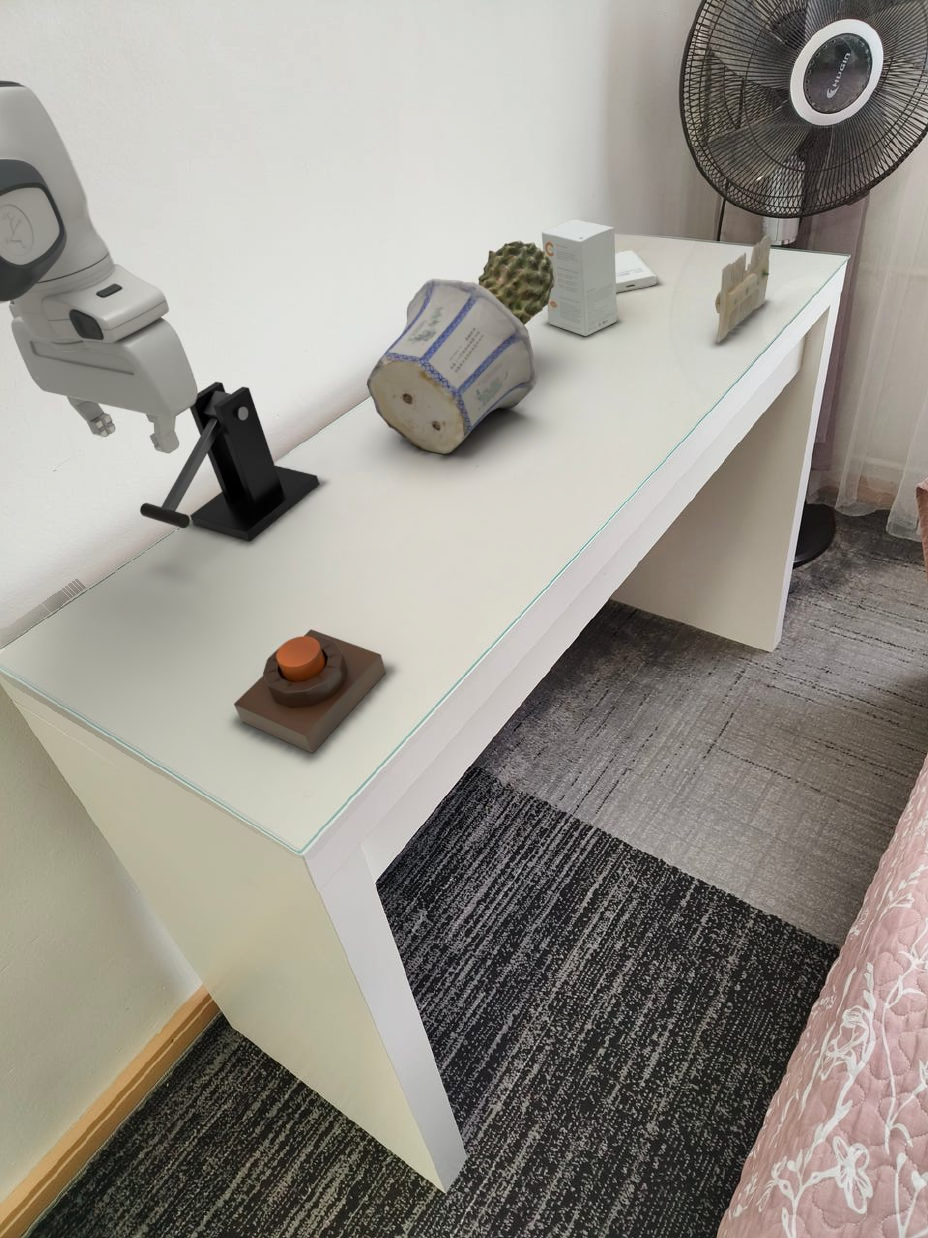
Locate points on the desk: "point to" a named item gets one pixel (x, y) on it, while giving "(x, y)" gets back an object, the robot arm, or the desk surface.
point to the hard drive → (632, 272)
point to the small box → (581, 276)
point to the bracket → (244, 469)
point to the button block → (311, 694)
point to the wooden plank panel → (743, 287)
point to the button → (300, 658)
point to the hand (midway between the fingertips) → (136, 441)
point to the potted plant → (463, 350)
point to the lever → (187, 471)
